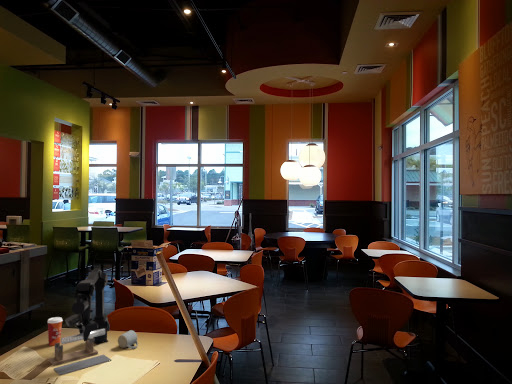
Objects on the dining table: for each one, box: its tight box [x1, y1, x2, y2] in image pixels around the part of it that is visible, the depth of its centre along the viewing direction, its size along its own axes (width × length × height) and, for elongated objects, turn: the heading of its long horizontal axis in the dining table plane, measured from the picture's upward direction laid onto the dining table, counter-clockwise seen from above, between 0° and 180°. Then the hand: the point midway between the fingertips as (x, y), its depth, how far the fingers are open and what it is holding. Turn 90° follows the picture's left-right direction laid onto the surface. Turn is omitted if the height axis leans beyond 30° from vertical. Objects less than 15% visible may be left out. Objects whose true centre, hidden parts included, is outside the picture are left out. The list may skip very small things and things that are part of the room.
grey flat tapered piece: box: [53, 354, 112, 376], centre depth 183 cm, size 24×9×1 cm, turn 135°
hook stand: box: [48, 337, 99, 367], centre depth 191 cm, size 21×8×8 cm, turn 135°
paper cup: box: [47, 316, 64, 347], centre depth 210 cm, size 8×8×14 cm
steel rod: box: [60, 328, 105, 345], centre depth 183 cm, size 20×3×3 cm, turn 135°
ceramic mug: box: [117, 329, 139, 350], centre depth 207 cm, size 11×8×8 cm
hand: (83, 340), depth 183 cm, fingers closed on steel rod, 3 cm apart
